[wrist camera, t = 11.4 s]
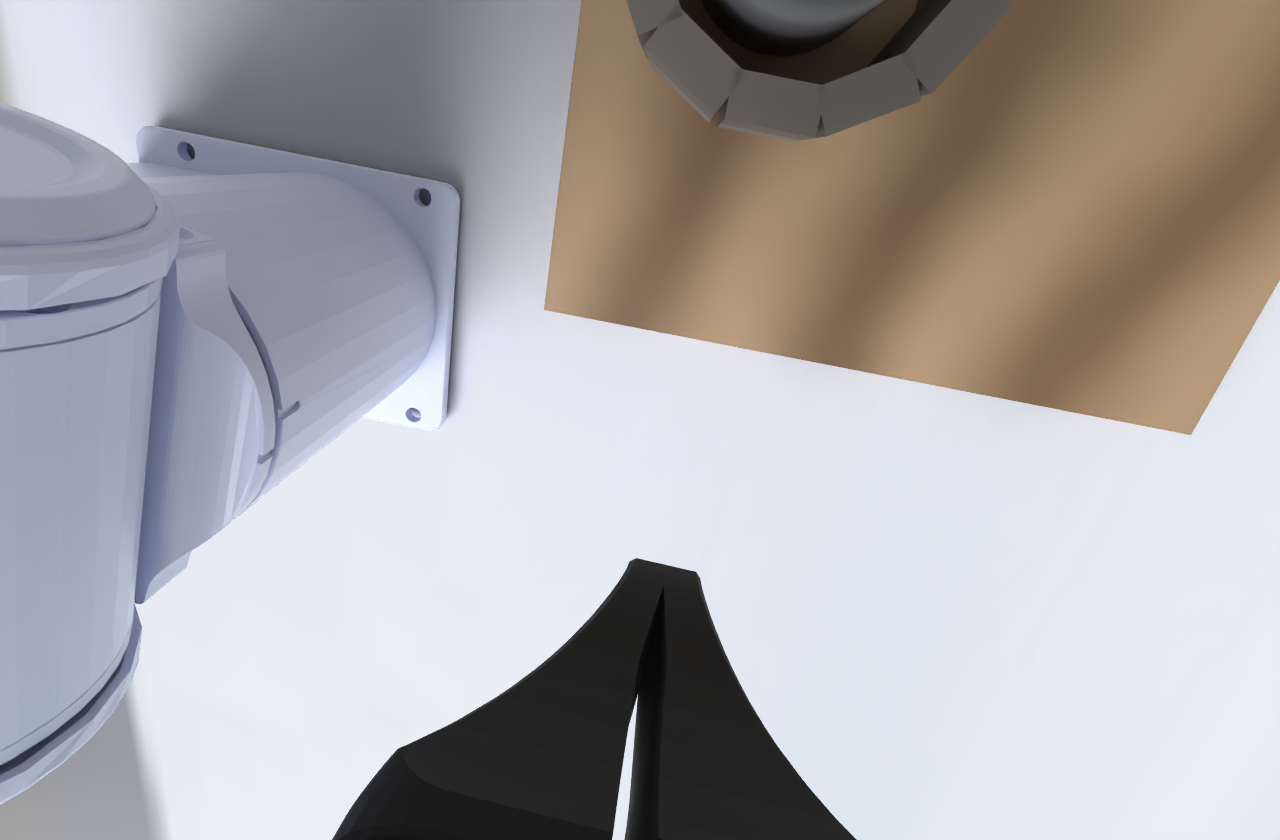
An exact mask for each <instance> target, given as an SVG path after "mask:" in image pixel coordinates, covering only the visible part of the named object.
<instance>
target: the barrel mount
mask: <svg viewBox="0 0 1280 840" xmlns="http://www.w3.org/2000/svg"><path fill="white" fill-rule="evenodd" d="M1279 280H1280V0H884V1H883V2H882V3H881V4H879V5H878V6H877V7H876V8H874V9H873V10H872V11H870V12H869V13H868V14H867V15H865V16H864V17H863V18H862V19H860V20H859V21H858V22H856V23H855V24H854V25H853V26H851V27H850V28H849V29H848V30H846V31H845V32H844V33H842V34H841V35H840V36H838V37H837V38H835V39H834V40H833V41H831V42H829V43H828V44H826V45H824V46H822V47H820V48H818V49H815V50H813V51H810V52H807V53H803V54H799V55H795V56H783V57H781V56H769V55H764V54H759V53H756V52H753V51H751V50H748V49H746V48H744V47H742V46H741V45H739V44H737V43H735V42H734V41H733V40H732V39H730V38H729V37H728V36H726V35H725V34H724V33H723V32H722V31H721V30H720V29H719V27H718V26H717V25H716V24H715V23H714V21H713V20H712V18H711V17H710V16H709V14H708V12H707V11H706V9H705V7H704V5H703V3H702V1H701V0H582V3H581V11H580V20H579V28H578V36H577V44H576V52H575V61H574V69H573V77H572V85H571V93H570V102H569V110H568V118H567V126H566V134H565V143H564V151H563V159H562V167H561V176H560V184H559V192H558V200H557V208H556V217H555V225H554V233H553V241H552V249H551V258H550V266H549V274H548V282H547V290H546V299H545V307H544V310H548V311H553V312H559V313H564V314H569V315H574V316H579V317H584V318H590V319H595V320H600V321H605V322H610V323H615V324H621V325H626V326H631V327H636V328H641V329H646V330H652V331H657V332H662V333H667V334H672V335H677V336H683V337H688V338H693V339H698V340H703V341H708V342H714V343H719V344H724V345H729V346H734V347H739V348H744V349H750V350H755V351H760V352H765V353H770V354H775V355H781V356H786V357H791V358H796V359H801V360H806V361H812V362H817V363H822V364H827V365H832V366H837V367H843V368H848V369H853V370H858V371H863V372H868V373H874V374H879V375H884V376H889V377H894V378H899V379H905V380H910V381H915V382H920V383H925V384H930V385H936V386H941V387H946V388H951V389H956V390H961V391H967V392H972V393H977V394H982V395H987V396H992V397H998V398H1003V399H1008V400H1013V401H1018V402H1023V403H1029V404H1034V405H1039V406H1044V407H1049V408H1054V409H1060V410H1065V411H1070V412H1075V413H1080V414H1085V415H1091V416H1096V417H1101V418H1106V419H1111V420H1116V421H1122V422H1127V423H1132V424H1137V425H1142V426H1147V427H1153V428H1158V429H1163V430H1168V431H1173V432H1178V433H1184V434H1189V435H1191V434H1192V432H1193V430H1194V428H1195V427H1196V425H1197V423H1198V422H1199V420H1200V418H1201V416H1202V415H1203V413H1204V411H1205V409H1206V408H1207V406H1208V404H1209V402H1210V401H1211V399H1212V397H1213V395H1214V394H1215V392H1216V390H1217V388H1218V387H1219V385H1220V383H1221V381H1222V380H1223V378H1224V376H1225V374H1226V373H1227V371H1228V369H1229V367H1230V366H1231V364H1232V362H1233V360H1234V359H1235V357H1236V355H1237V353H1238V352H1239V350H1240V348H1241V346H1242V345H1243V343H1244V341H1245V339H1246V338H1247V336H1248V334H1249V332H1250V331H1251V329H1252V327H1253V325H1254V324H1255V322H1256V320H1257V318H1258V317H1259V315H1260V313H1261V311H1262V310H1263V308H1264V306H1265V305H1266V303H1267V301H1268V299H1269V298H1270V296H1271V294H1272V292H1273V291H1274V289H1275V287H1276V285H1277V284H1278V282H1279Z"/></svg>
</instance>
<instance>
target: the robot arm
mask: <svg viewBox="0 0 1280 840" xmlns="http://www.w3.org/2000/svg"><path fill="white" fill-rule="evenodd" d="M188 144H191V146H192V147H193V148H194V151H195V158H194V159H192V158H191V157H190V156H189V155H188V152H187V146H188ZM137 149H138V157H139V163H125V162H124V161H123V160H122V159H121V158H120V157H118V156H117V155H115V154H114V153H113V152H111V151H110V150H109V149H107V148H105V147H104V146H102V145H100V144H99V143H97V142H95V141H93V140H91V139H90V138H88V137H86V136H84V135H82V134H80V133H77V132H75V131H73V130H71V129H69V128H66V127H64V126H62V125H59V124H57V123H55V122H52V121H50V120H47V119H45V118H42V117H39V116H37V115H34V114H31V113H29V112H26V111H23V110H21V109H18V108H15V107H12V106H9V105H6V104H3V103H0V804H2V803H4V802H6V801H7V800H9V799H11V798H12V797H14V796H16V795H18V794H19V793H21V792H23V791H24V790H26V789H28V788H29V787H31V786H32V785H33V784H35V783H36V782H37V781H39V780H40V779H42V778H43V777H44V776H46V775H47V774H49V773H50V772H51V771H53V770H54V769H56V768H57V767H58V766H60V765H61V764H62V763H64V762H65V761H66V760H67V759H68V758H69V757H70V756H71V755H73V754H74V753H75V752H76V751H77V750H78V749H79V748H80V747H82V746H83V745H84V744H85V743H86V742H87V741H88V740H89V739H90V738H91V737H92V736H93V735H94V734H95V733H96V732H97V731H98V729H99V728H100V727H101V726H102V725H103V724H104V722H105V721H106V720H107V719H108V718H109V717H110V715H111V714H112V713H113V712H114V710H115V708H116V707H117V705H118V703H119V702H120V700H121V698H122V697H123V695H124V694H125V692H126V691H127V689H128V687H129V685H130V683H131V680H132V678H133V675H134V672H135V669H136V667H137V664H138V659H139V650H140V642H141V631H142V626H141V623H140V620H139V616H138V613H137V610H136V607H135V604H134V599H135V603H137V604H142V603H144V602H145V601H146V600H147V599H149V598H150V597H151V596H152V595H153V594H155V593H156V592H157V591H158V590H160V589H161V588H162V587H163V586H164V585H166V584H167V583H168V582H169V581H170V580H172V579H173V578H174V577H175V576H177V575H178V574H179V573H180V572H181V571H183V570H184V569H185V568H186V566H187V563H188V559H189V555H190V553H191V551H192V550H193V549H195V548H196V547H198V546H199V545H201V544H202V543H204V542H205V541H207V540H208V539H210V538H211V537H212V536H214V535H215V534H216V533H218V532H219V531H220V530H222V529H223V528H224V527H225V526H226V525H228V524H229V523H230V522H231V521H232V520H234V519H235V518H236V517H237V516H239V515H240V514H242V513H243V512H244V511H245V510H247V509H248V508H249V507H250V506H252V505H253V504H254V503H255V502H257V501H258V500H259V499H260V498H262V497H263V496H264V495H265V494H267V493H268V492H269V491H270V490H272V489H273V488H274V487H275V486H277V485H278V484H279V483H280V482H282V481H283V480H284V479H285V478H287V477H288V476H289V475H290V474H292V473H293V472H294V471H295V470H297V469H298V468H299V467H300V466H302V465H303V464H304V463H305V462H307V461H308V460H309V459H310V458H312V457H313V456H314V455H315V454H317V453H318V452H319V451H320V450H322V449H323V448H324V447H325V446H327V445H328V444H329V443H330V442H332V441H333V440H334V439H335V438H337V437H338V436H339V435H340V434H342V433H343V432H344V431H345V430H347V429H348V428H349V427H350V426H352V425H353V424H354V423H355V422H357V421H358V420H359V419H360V418H365V419H370V420H375V421H380V422H385V423H391V424H396V425H401V426H406V427H411V428H417V429H422V430H427V431H434V430H436V429H439V427H440V426H441V425H442V424H443V423H444V422H445V420H446V414H447V398H448V383H449V368H450V352H451V337H452V321H453V306H454V290H455V275H456V259H457V244H458V229H459V213H460V198H459V195H458V193H457V191H456V189H455V188H454V187H453V186H452V185H450V184H447V183H445V182H440V181H435V180H430V179H425V178H420V177H415V176H410V175H405V174H399V173H394V172H389V171H384V170H379V169H374V168H369V167H363V166H358V165H353V164H348V163H343V162H338V161H333V160H327V159H322V158H317V157H312V156H307V155H302V154H297V153H292V152H286V151H281V150H276V149H271V148H266V147H261V146H256V145H250V144H245V143H240V142H235V141H230V140H225V139H220V138H215V137H209V136H204V135H199V134H194V133H189V132H184V131H179V130H173V129H168V128H163V127H155V126H145V127H143V128H142V129H140V130H139V132H138V134H137ZM422 188H424V189H427V190H428V191H429V193H430V194H431V199H432V200H431V203H430V204H429V205H428V206H426V205H424V204H423V203H422V202H421V201H420V199H419V192H420V190H421V189H422ZM410 408H415V409H418V411H419V412H420V413H421V418H417V417H415V416H413V415H412V413H411V411H410ZM637 695H638V702H637V714H636V726H635V739H634V752H633V765H632V777H631V790H630V803H629V811H628V820H627V828H626V834H625V840H856V839H855V838H854V837H853V836H852V835H851V834H850V833H849V832H848V831H847V830H846V829H845V828H844V826H843V825H842V824H841V823H840V822H839V821H838V820H837V819H836V818H835V817H834V816H833V815H832V814H831V813H830V811H829V810H828V809H827V808H826V807H825V806H824V804H823V803H822V802H821V801H820V800H819V799H818V798H817V796H816V795H815V794H814V793H813V792H812V791H811V789H810V788H809V787H808V786H807V785H806V783H805V782H804V781H803V780H802V778H801V777H800V776H799V774H798V773H797V772H796V770H795V769H794V768H793V766H792V765H791V764H790V762H789V761H788V760H787V758H786V757H785V756H784V754H783V753H782V752H781V750H780V749H779V748H778V746H777V745H776V743H775V742H774V740H773V739H772V737H771V736H770V734H769V733H768V731H767V730H766V728H765V727H764V725H763V723H762V722H761V720H760V718H759V717H758V715H757V714H756V712H755V710H754V709H753V707H752V705H751V703H750V702H749V700H748V698H747V696H746V694H745V693H744V691H743V689H742V687H741V685H740V683H739V681H738V679H737V677H736V675H735V673H734V671H733V669H732V667H731V665H730V663H729V660H728V658H727V656H726V654H725V651H724V649H723V647H722V644H721V642H720V639H719V637H718V634H717V632H716V629H715V627H714V624H713V621H712V619H711V616H710V613H709V610H708V607H707V604H706V601H705V597H704V594H703V590H702V586H701V581H700V577H699V576H698V574H697V573H696V572H694V571H689V570H685V569H681V568H676V567H672V566H668V565H663V564H659V563H655V562H650V561H646V560H642V559H637V558H636V559H634V560H632V561H630V562H629V564H628V567H627V569H626V571H625V572H624V574H623V576H622V578H621V579H620V581H619V582H618V584H617V585H616V586H615V588H614V589H613V591H612V592H611V593H610V595H609V596H608V597H607V598H606V600H605V601H604V602H603V603H602V604H601V606H600V607H599V608H598V609H597V611H596V612H595V613H594V614H593V615H592V616H591V617H590V619H589V620H588V621H587V622H586V623H585V624H584V625H583V626H582V627H581V628H580V629H579V630H578V631H577V632H576V633H575V634H574V635H573V636H572V637H571V638H570V639H569V640H568V641H567V642H566V643H565V644H564V645H563V646H562V647H561V648H560V649H559V650H558V651H556V652H555V653H554V654H553V655H552V656H551V657H550V658H548V659H547V660H546V661H545V662H544V663H542V664H541V665H540V666H539V667H538V668H536V669H535V670H534V671H532V672H531V673H530V674H528V675H527V676H526V677H524V678H523V679H522V680H520V681H519V682H518V683H516V684H515V685H514V686H512V687H511V688H509V689H508V690H506V691H505V692H503V693H502V694H500V695H499V696H497V697H496V698H494V699H493V700H491V701H489V702H488V703H486V704H484V705H482V706H481V707H479V708H477V709H476V710H474V711H472V712H471V713H469V714H467V715H466V716H464V717H462V718H461V719H459V720H457V721H455V722H453V723H452V724H450V725H448V726H446V727H444V728H442V729H439V730H437V731H435V732H433V733H431V734H429V735H427V736H425V737H423V738H421V739H419V740H416V741H414V742H412V743H410V744H408V745H406V746H403V747H401V748H399V749H397V751H396V752H395V753H394V754H393V755H392V756H391V757H390V758H389V760H388V761H387V762H386V763H385V764H384V765H383V767H382V768H381V769H380V770H379V771H378V773H377V774H376V775H375V776H374V778H373V779H372V780H371V782H370V783H369V784H368V785H367V787H366V788H365V789H364V791H363V792H362V793H361V795H360V796H359V797H358V799H357V800H356V801H355V803H354V804H353V806H352V807H351V809H350V810H349V812H348V814H347V815H346V817H345V819H344V820H343V822H342V824H341V825H340V827H339V829H338V831H337V832H336V834H335V836H334V837H333V839H332V840H612V836H613V829H614V822H615V814H616V807H617V800H618V792H619V785H620V778H621V771H622V765H623V758H624V751H625V745H626V738H627V732H628V726H629V723H630V719H631V716H632V712H633V709H634V705H635V702H636V698H637Z"/></svg>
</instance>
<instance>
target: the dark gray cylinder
mask: <svg viewBox="0 0 1280 840" xmlns="http://www.w3.org/2000/svg"><path fill="white" fill-rule="evenodd" d="M701 1H702V3H703V5H704V7H705V9H706V11H707V12H708V14H709V16H710V17H711V18H712V20H713V21H714V23H715V24H716V25H717V26H718V27H719V29H720V30H721V31H722V32H723V33H724V34H725V35H726V36H728V37H729V38H730V39H732V40H733V41H734V42H735V43H737V44H739V45H741V46H742V47H744V48H746V49H748V50H751V51H753V52H756V53H759V54H764V55H769V56H781V57H783V56H795V55H799V54H803V53H807V52H810V51H813V50H815V49H818V48H820V47H822V46H824V45H826V44H828V43H829V42H831V41H833V40H834V39H835V38H837V37H838V36H840V35H841V34H842V33H844V32H845V31H846V30H848V29H849V28H850V27H851V26H853V25H854V24H855V23H856V22H858V21H859V20H860V19H862V18H863V17H864V16H865V15H867V14H868V13H869V12H870V11H872V10H873V9H874V8H876V7H877V6H878V5H879V4H881V3H882V2H883V1H884V0H701Z"/></svg>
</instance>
